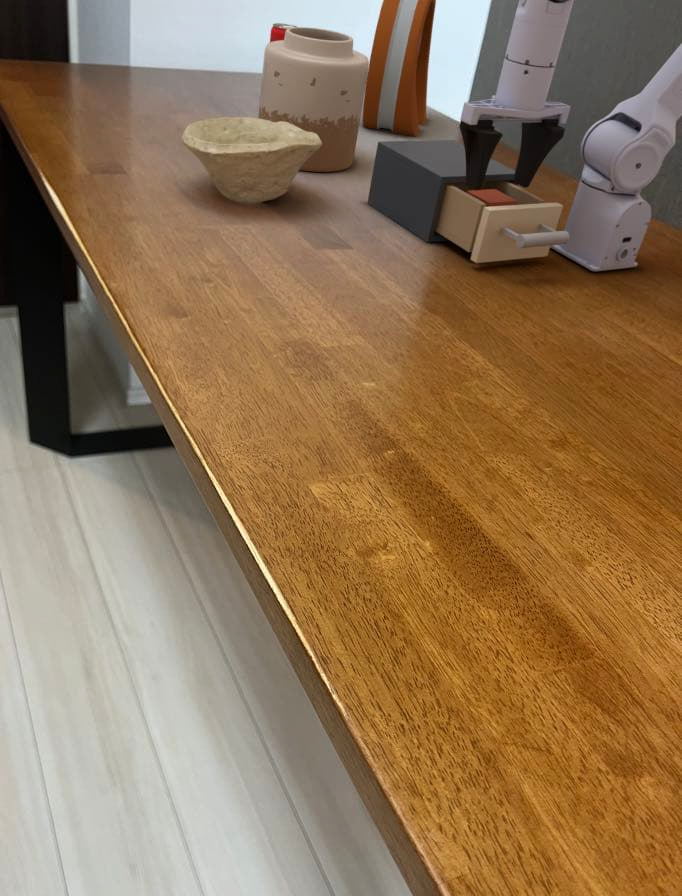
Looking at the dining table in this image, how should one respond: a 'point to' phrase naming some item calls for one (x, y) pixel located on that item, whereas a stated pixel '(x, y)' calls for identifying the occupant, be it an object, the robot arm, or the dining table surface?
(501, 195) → the block
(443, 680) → the dining table surface
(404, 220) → the cabinet
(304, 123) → the vase
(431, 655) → the dining table surface
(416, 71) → the orange striped bag
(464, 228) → the drawer
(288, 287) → the dining table surface
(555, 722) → the dining table surface
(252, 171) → the bowl
